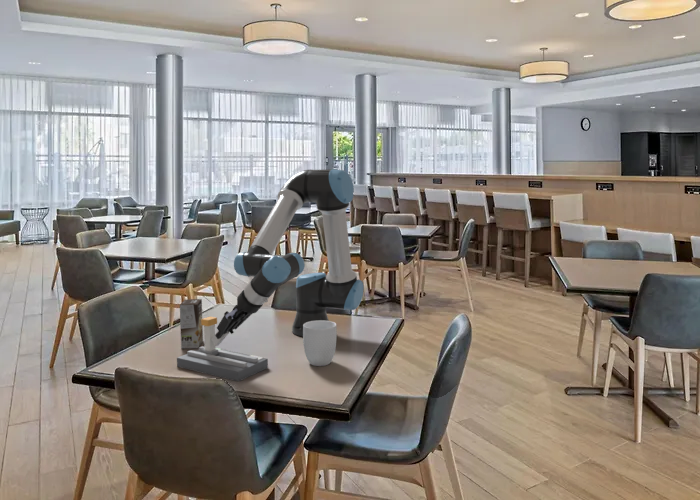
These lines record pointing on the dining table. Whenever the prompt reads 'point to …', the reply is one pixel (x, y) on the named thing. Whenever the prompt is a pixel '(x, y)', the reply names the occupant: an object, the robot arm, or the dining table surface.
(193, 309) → the coffee box
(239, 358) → the switch panel
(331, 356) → the mug
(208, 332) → the lever
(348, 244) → the robot arm
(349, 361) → the dining table surface
